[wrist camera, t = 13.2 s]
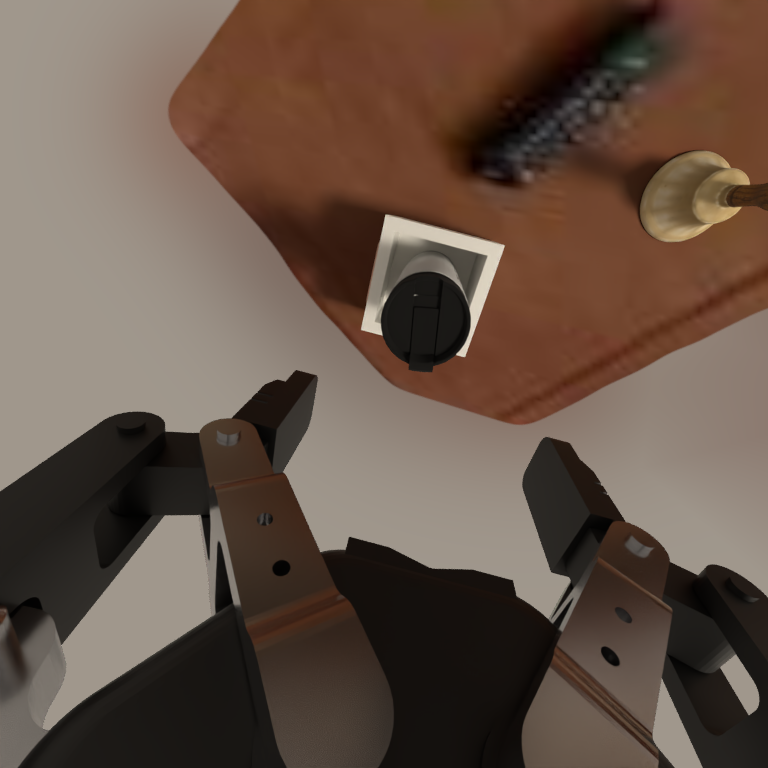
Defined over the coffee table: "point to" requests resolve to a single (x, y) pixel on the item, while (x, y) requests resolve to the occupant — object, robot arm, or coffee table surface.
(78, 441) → the robot arm
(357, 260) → the coffee table surface
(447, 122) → the coffee table surface
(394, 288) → the travel mug
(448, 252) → the socket
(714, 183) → the hand bell
